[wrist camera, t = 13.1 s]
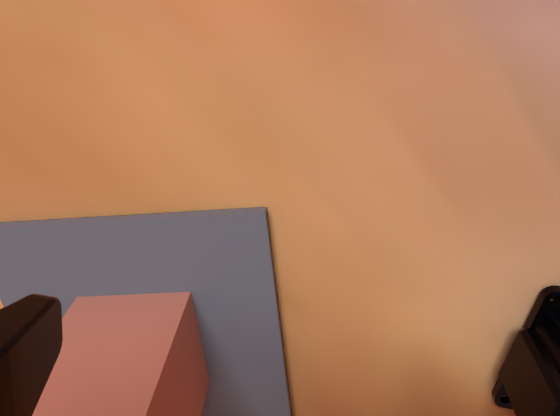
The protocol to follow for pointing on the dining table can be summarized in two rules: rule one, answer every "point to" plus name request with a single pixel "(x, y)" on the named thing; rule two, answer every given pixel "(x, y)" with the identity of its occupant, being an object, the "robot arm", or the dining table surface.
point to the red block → (128, 358)
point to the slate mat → (170, 286)
